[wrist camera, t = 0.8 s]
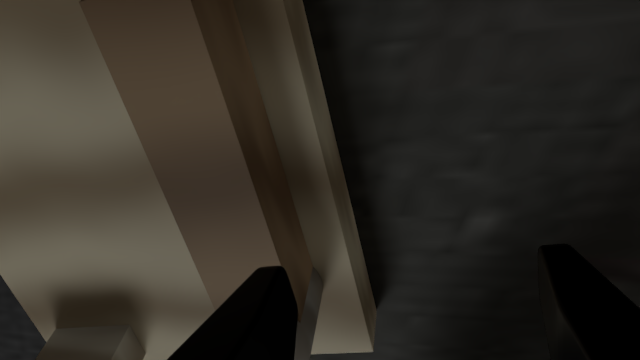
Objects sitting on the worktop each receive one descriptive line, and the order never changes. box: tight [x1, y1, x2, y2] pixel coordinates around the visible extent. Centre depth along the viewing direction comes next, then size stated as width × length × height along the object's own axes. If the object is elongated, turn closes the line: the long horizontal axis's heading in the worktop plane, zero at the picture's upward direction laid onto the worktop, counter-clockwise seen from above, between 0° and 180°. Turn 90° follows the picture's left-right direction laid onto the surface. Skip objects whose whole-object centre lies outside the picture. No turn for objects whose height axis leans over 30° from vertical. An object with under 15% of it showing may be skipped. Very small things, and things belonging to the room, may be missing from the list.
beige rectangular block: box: [0, 0, 377, 360], centre depth 23 cm, size 19×16×6 cm
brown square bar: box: [79, 0, 323, 360], centre depth 20 cm, size 15×3×4 cm, turn 13°
